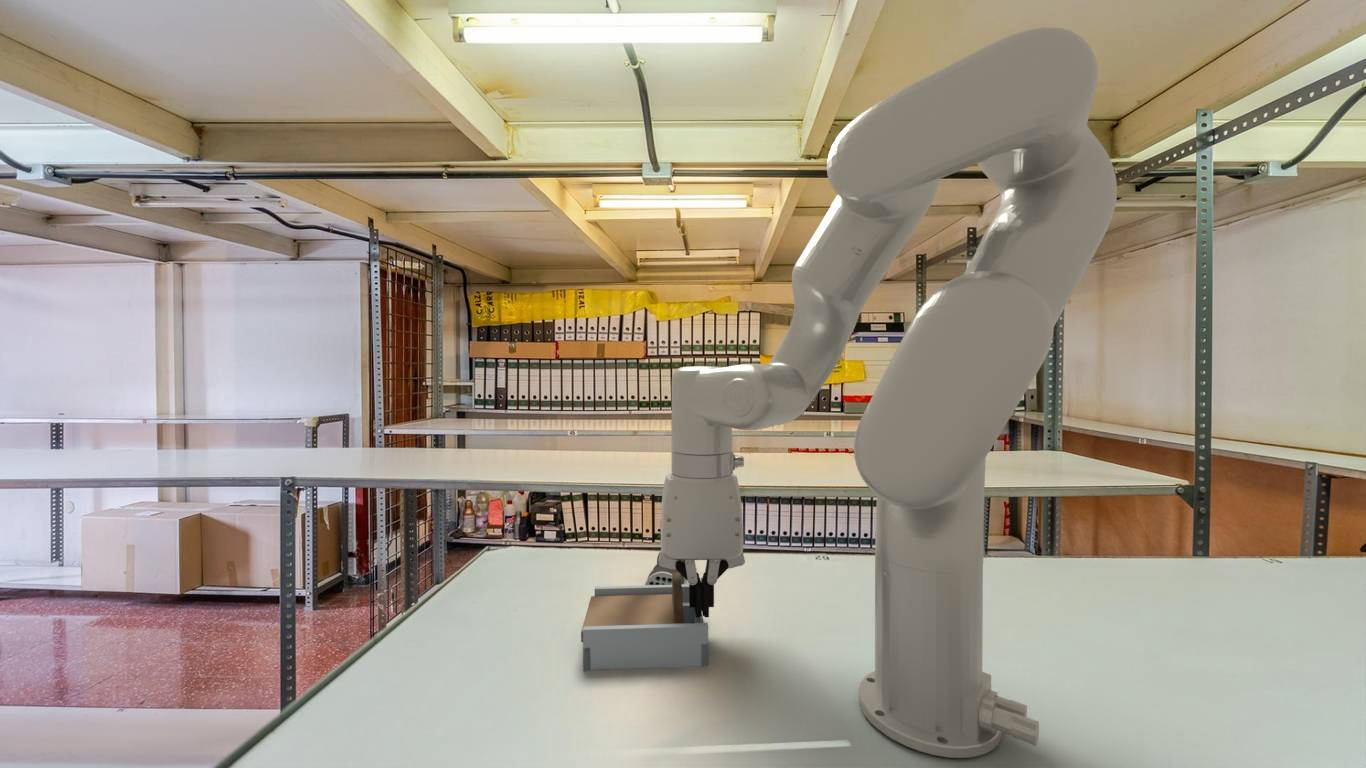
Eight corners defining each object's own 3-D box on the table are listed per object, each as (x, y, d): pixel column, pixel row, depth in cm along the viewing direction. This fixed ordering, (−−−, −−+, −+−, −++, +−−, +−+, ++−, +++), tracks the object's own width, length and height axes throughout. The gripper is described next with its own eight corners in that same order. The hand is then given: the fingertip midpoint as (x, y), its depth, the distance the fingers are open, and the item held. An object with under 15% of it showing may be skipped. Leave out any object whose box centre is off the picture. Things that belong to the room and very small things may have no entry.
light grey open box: (699, 620, 71) (698, 583, 71) (708, 670, 59) (708, 626, 59) (595, 623, 70) (595, 586, 70) (583, 674, 58) (583, 629, 58)
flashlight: (658, 570, 90) (658, 539, 90) (689, 571, 89) (689, 540, 89) (643, 609, 74) (643, 572, 74) (681, 611, 74) (681, 573, 74)
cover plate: (680, 602, 69) (680, 567, 69) (684, 639, 60) (684, 598, 60) (591, 605, 69) (591, 569, 68) (581, 642, 59) (580, 601, 59)
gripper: (755, 460, 69) (755, 598, 69) (642, 461, 68) (642, 600, 68) (767, 470, 61) (767, 625, 61) (640, 471, 60) (640, 628, 61)
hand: (701, 612), depth 65 cm, fingers closed
